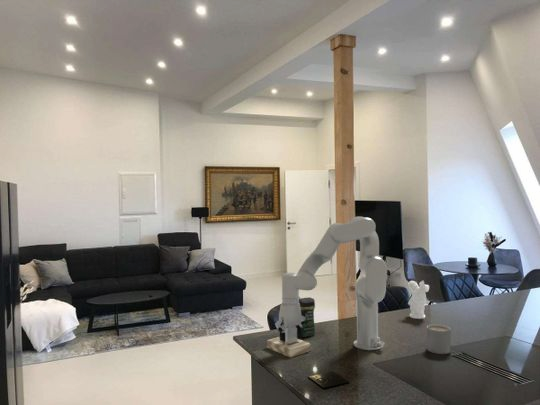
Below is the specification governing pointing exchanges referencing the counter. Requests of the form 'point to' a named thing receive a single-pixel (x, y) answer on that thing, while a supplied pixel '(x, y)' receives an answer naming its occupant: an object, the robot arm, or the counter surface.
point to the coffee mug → (438, 339)
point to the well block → (288, 347)
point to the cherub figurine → (417, 299)
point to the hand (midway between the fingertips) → (290, 338)
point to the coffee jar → (307, 316)
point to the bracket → (290, 336)
